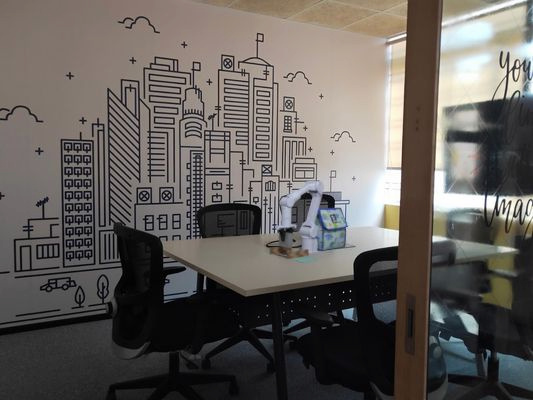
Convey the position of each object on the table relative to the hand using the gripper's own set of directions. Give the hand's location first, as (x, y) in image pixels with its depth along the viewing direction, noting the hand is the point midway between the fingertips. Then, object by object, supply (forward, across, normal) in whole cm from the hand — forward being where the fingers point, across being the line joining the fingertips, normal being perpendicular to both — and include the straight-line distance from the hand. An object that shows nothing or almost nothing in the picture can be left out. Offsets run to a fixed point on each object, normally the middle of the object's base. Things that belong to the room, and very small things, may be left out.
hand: (285, 241), depth 257 cm
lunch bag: (+9, -40, -4) cm, 41 cm away
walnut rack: (+9, -3, 0) cm, 9 cm away
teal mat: (+9, -2, +14) cm, 17 cm away
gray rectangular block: (+3, 0, 0) cm, 3 cm away
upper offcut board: (+8, -7, 0) cm, 11 cm away
